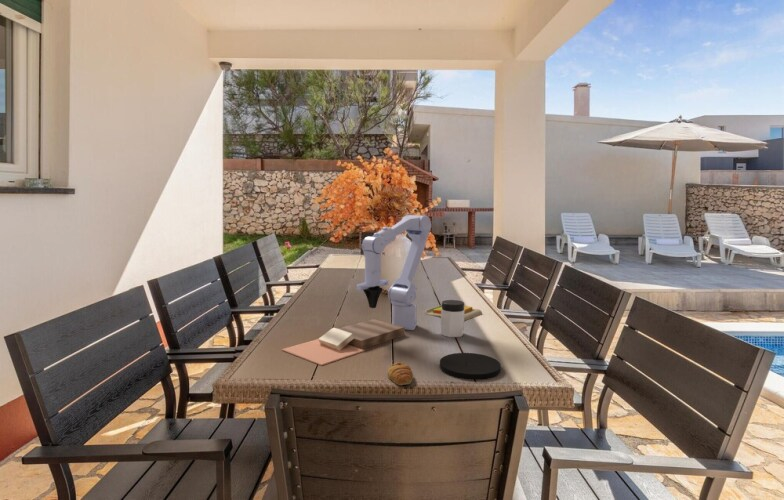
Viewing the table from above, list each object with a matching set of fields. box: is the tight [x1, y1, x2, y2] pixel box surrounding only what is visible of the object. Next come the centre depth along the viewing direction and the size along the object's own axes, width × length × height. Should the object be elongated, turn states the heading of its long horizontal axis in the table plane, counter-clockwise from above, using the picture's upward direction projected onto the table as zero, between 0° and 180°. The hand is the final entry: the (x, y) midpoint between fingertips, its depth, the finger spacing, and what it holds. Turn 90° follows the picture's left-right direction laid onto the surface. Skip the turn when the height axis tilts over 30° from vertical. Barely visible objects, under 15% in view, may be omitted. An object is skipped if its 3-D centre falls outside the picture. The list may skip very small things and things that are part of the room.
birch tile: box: [318, 327, 354, 350], centre depth 159 cm, size 7×10×2 cm
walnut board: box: [337, 318, 406, 350], centre depth 169 cm, size 22×16×3 cm
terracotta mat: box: [281, 338, 365, 366], centre depth 154 cm, size 18×20×1 cm
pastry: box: [387, 361, 414, 386], centre depth 131 cm, size 9×7×4 cm
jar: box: [440, 299, 465, 338], centre depth 174 cm, size 9×8×12 cm
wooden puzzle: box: [424, 304, 483, 322], centre depth 204 cm, size 18×19×4 cm
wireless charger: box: [439, 352, 502, 381], centre depth 141 cm, size 18×18×2 cm
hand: (372, 307), depth 170 cm, fingers closed
